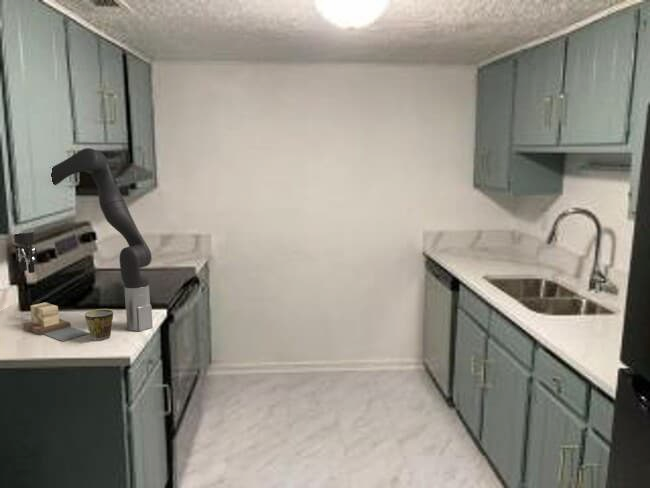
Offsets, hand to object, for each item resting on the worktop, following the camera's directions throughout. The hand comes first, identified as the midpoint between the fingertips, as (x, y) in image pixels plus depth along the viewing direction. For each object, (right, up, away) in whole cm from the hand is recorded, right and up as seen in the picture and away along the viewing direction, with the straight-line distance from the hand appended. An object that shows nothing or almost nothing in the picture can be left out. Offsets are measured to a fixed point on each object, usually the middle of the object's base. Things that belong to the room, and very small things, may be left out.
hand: (27, 271), depth 225 cm
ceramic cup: (+37, -25, -17) cm, 48 cm away
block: (+9, -20, -3) cm, 23 cm away
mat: (+21, -24, -11) cm, 34 cm away
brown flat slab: (+10, -22, -4) cm, 25 cm away
